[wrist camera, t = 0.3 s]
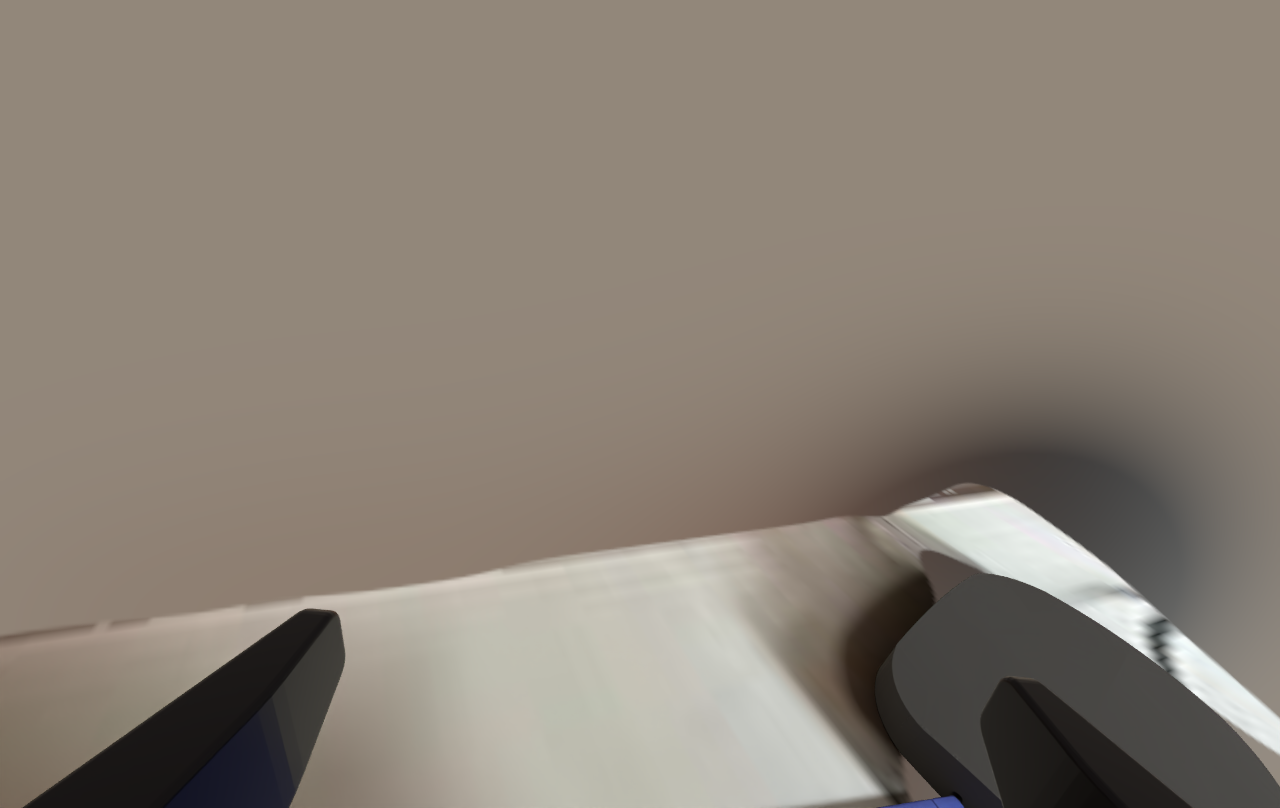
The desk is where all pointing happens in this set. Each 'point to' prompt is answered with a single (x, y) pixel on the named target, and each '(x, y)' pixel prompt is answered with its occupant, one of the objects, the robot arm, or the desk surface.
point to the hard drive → (931, 803)
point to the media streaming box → (1073, 670)
